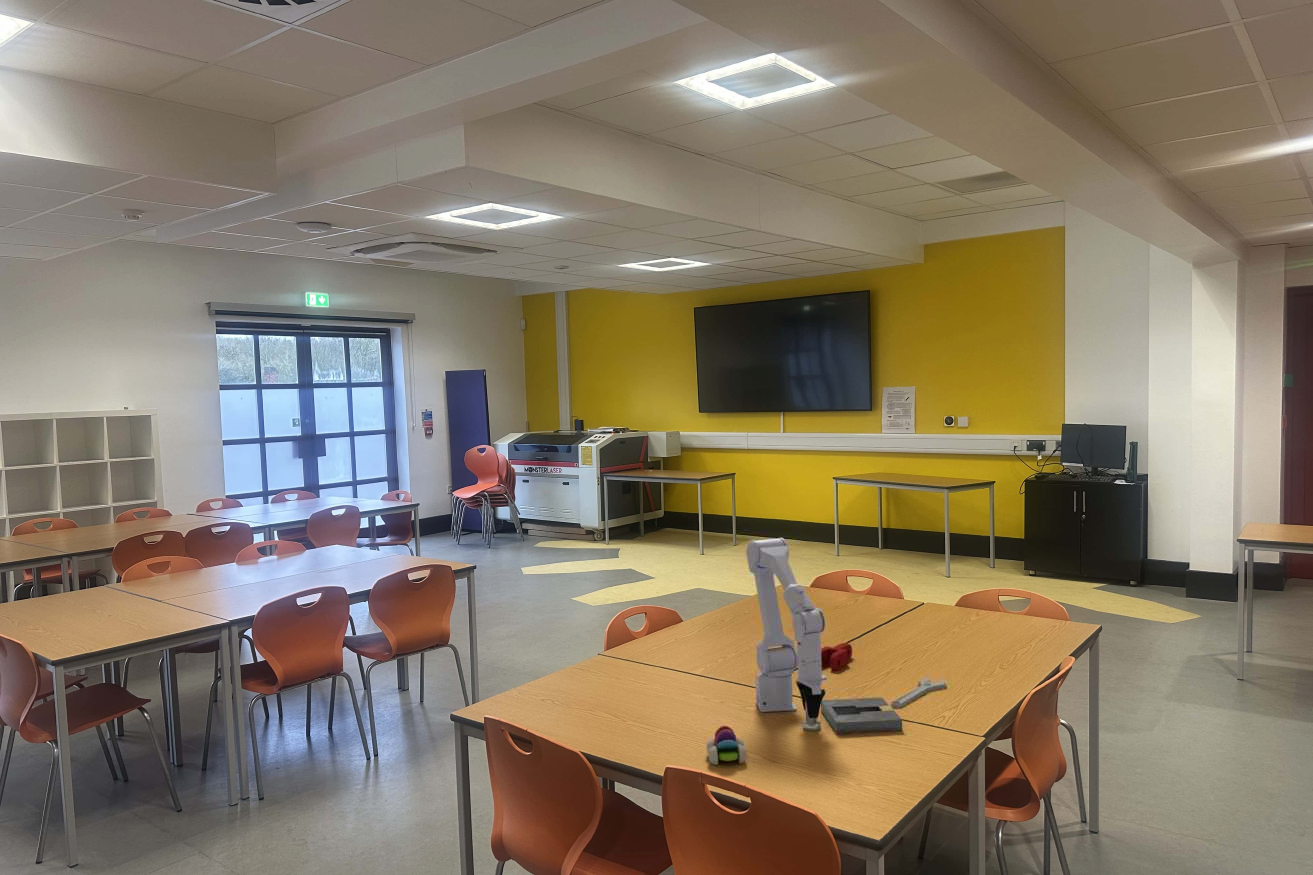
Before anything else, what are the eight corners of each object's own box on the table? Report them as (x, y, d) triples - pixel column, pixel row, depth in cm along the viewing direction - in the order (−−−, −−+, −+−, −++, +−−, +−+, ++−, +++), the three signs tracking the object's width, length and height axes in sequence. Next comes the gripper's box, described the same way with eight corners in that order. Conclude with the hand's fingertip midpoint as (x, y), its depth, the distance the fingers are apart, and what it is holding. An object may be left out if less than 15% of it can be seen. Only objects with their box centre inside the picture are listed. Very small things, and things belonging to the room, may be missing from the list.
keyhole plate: (836, 734, 207) (836, 722, 207) (820, 710, 223) (820, 700, 223) (902, 730, 207) (902, 719, 207) (881, 707, 223) (881, 697, 223)
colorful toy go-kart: (742, 750, 199) (741, 719, 199) (748, 767, 190) (747, 735, 189) (706, 752, 199) (705, 721, 199) (710, 769, 189) (709, 737, 189)
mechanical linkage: (835, 672, 255) (834, 656, 254) (813, 668, 259) (813, 652, 259) (859, 659, 267) (859, 643, 267) (838, 656, 271) (838, 640, 271)
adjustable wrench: (898, 711, 222) (898, 704, 222) (877, 705, 227) (877, 698, 227) (949, 687, 239) (949, 680, 239) (928, 682, 244) (928, 675, 244)
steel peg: (804, 731, 209) (803, 699, 209) (800, 724, 214) (799, 693, 213) (822, 730, 209) (821, 698, 209) (818, 724, 214) (817, 692, 213)
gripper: (833, 667, 204) (834, 723, 204) (818, 650, 218) (820, 703, 219) (803, 668, 203) (805, 725, 204) (791, 651, 218) (792, 704, 218)
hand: (811, 713), depth 211 cm, fingers open, 4 cm apart
